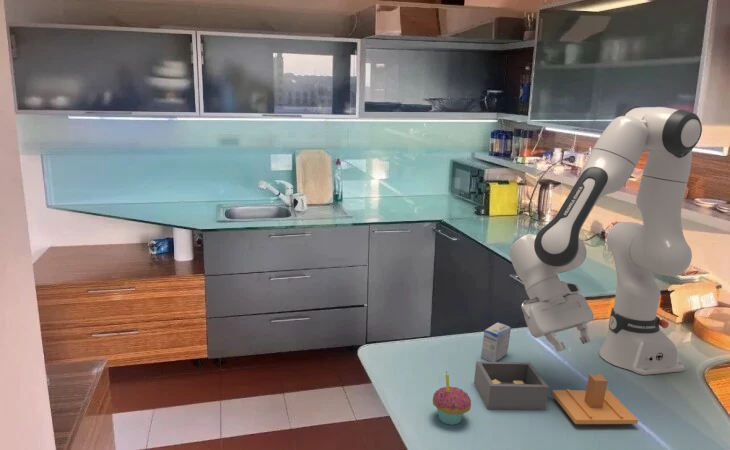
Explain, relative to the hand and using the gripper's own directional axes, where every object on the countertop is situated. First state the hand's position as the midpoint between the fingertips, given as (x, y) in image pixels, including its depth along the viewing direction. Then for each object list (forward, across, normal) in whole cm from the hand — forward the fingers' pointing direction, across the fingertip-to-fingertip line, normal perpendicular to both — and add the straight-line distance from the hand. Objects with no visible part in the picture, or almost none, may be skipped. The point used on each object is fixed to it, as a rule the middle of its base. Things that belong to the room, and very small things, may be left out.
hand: (574, 346), depth 138 cm
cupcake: (+5, -33, +14) cm, 36 cm away
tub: (+4, -13, +14) cm, 20 cm away
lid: (+15, -1, +5) cm, 16 cm away
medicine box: (-7, -1, +27) cm, 28 cm away
